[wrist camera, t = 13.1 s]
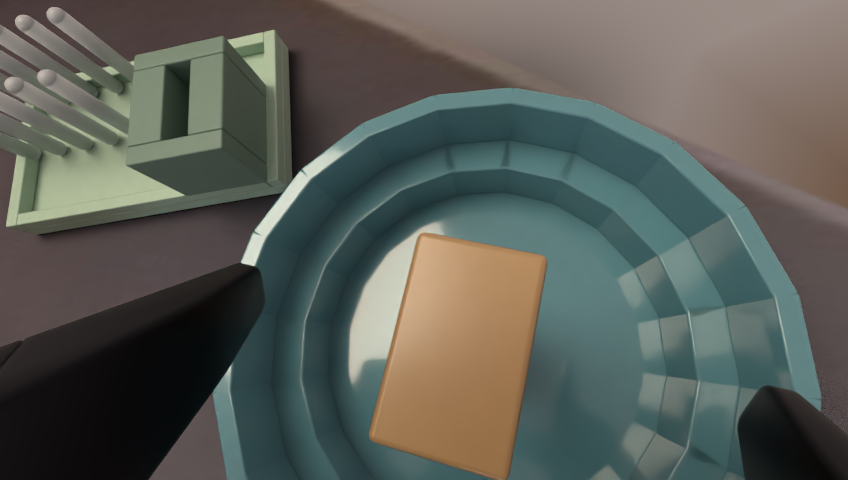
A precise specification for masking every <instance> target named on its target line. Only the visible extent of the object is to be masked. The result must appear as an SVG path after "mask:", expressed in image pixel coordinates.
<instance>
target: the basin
mask: <svg viewBox="0 0 848 480" xmlns="http://www.w3.org/2000/svg"><path fill="white" fill-rule="evenodd" d="M744 206H745V205H744V203H742V202H741V201H740V200H739V199H738V198H737V197H736V196H735V195H734V194H733V193H731V192H730V191H729V190H728V189H727V188H726V187H725V186H724V185H723V184H722V183H721V182H719V181H718V180H717V179H716V178H715V177H714V176H713V175H712V174H711V173H710V172H708V171H707V170H706V169H705V168H704V167H703V166H702V165H701V164H700V163H699V162H698V161H696V160H695V159H694V158H693V157H692V156H691V155H690V154H689V153H688V152H687V151H685V150H684V149H683V148H682V147H681V146H680V145H679V144H678V143H676V142H675V143H674V141H673V140H672V139H670V138H668V137H666V136H663V135H661V134H659V133H657V132H655V131H653V130H651V129H649V128H647V127H645V126H643V125H641V124H639V123H637V122H635V121H633V120H631V119H629V118H627V117H625V116H623V115H621V114H619V113H616V112H614V111H612V110H610V109H608V108H606V107H604V106H602V105H600V104H598V103H594V102H592V101H586V100H580V99H575V98H569V97H564V96H558V95H552V94H547V93H541V92H536V91H530V90H525V89H519V88H514V89H513V88H501V89H491V90H481V91H471V92H460V93H450V94H440V95H435V96H430V97H428V98H425V99H422V100H420V101H417V102H415V103H412V104H410V105H407V106H405V107H402V108H399V109H397V110H394V111H392V112H389V113H387V114H384V115H381V116H379V117H376V118H374V119H371V120H369V121H366V122H364V123H363V124H361V125H359V126H358V127H357V128H355V129H354V130H353V131H351V132H350V133H349V134H347V135H346V136H345V137H343V138H342V139H341V140H339V141H338V142H337V143H335V144H334V145H333V146H331V147H330V148H329V149H327V150H326V151H325V152H323V153H322V154H321V155H319V156H318V157H317V158H315V159H314V160H313V161H311V162H310V163H309V164H307V165H306V166H305V167H303V168H302V170H300V171H299V172H298V174H297V175H296V176H295V177H294V179H293V180H292V181H291V183H290V184H289V185H288V187H287V188H286V189H285V190H284V192H283V193H282V194H281V196H280V197H279V198H278V200H277V201H276V202H275V204H274V205H273V206H272V207H271V209H270V210H269V211H268V213H267V214H266V215H265V217H264V218H263V219H262V220H261V222H260V223H259V224H258V226H257V227H256V228H255V230H254V232H253V233H252V235H251V238H250V240H249V242H248V245H247V247H246V250H245V252H244V255H243V257H242V260H241V262H240V263H243V264H247V265H252V266H255V267H257V268H259V270H260V271H261V275H262V280H263V286H264V291H265V297H266V303H265V307H264V310H263V312H262V313H261V315H260V317H259V318H258V320H257V322H256V324H255V325H254V327H253V329H252V330H251V332H250V334H249V335H248V337H247V339H246V341H245V342H244V344H243V346H242V347H241V349H240V351H239V352H238V354H237V356H236V358H235V359H234V361H233V363H232V364H231V366H230V367H229V369H228V371H227V372H226V374H225V375H224V377H223V378H222V379H221V381H220V382H219V384H218V385H217V387H216V388H215V389H214V391H213V392H214V394H213V399H214V405H215V411H216V417H217V423H218V429H219V435H220V441H221V447H222V453H223V459H224V464H225V470H226V476H227V480H493V479H490V478H486V477H483V476H480V475H477V474H473V473H470V472H467V471H464V470H461V469H457V468H454V467H451V466H448V465H444V464H441V463H438V462H435V461H431V460H428V459H425V458H422V457H419V456H415V455H412V454H409V453H406V452H402V451H399V450H396V449H393V448H389V447H386V446H383V445H380V444H377V443H374V442H373V441H372V440H370V438H369V430H370V426H371V422H372V418H373V414H374V410H375V406H376V402H377V398H378V394H379V390H380V386H381V382H382V378H383V374H384V370H385V366H386V362H387V358H388V354H389V350H390V345H391V341H392V337H393V333H394V329H395V325H396V321H397V317H398V313H399V309H400V305H401V301H402V297H403V293H404V289H405V285H406V281H407V277H408V273H409V269H410V265H411V261H412V257H413V253H414V249H415V245H416V241H417V238H418V236H419V235H420V233H425V232H428V233H433V234H438V235H443V236H448V237H453V238H458V239H464V240H469V241H474V242H479V243H484V244H489V245H495V246H500V247H505V248H510V249H515V250H520V251H525V252H531V253H536V254H541V255H543V256H544V257H546V258H547V263H548V265H547V271H546V276H545V282H544V287H543V293H542V298H541V304H540V309H539V315H538V320H537V326H536V332H535V337H534V343H533V348H532V354H531V359H530V365H529V370H528V376H527V381H526V387H525V392H524V398H523V403H522V409H521V414H520V420H519V425H518V431H517V436H516V442H515V447H514V453H513V458H512V464H511V470H510V475H509V476H508V478H507V479H506V480H745V477H744V471H743V464H742V458H741V451H740V445H739V438H738V431H737V425H738V420H739V417H740V415H741V414H742V412H743V411H744V409H745V408H746V407H747V405H748V404H749V402H750V401H751V399H752V398H753V397H754V395H755V394H756V392H757V391H758V390H759V389H760V388H761V387H763V386H765V385H771V386H775V387H780V388H784V389H788V390H792V391H795V392H797V393H799V394H800V395H801V396H802V397H804V398H805V399H806V400H807V401H808V402H810V403H811V404H812V405H813V406H814V407H815V408H817V409H818V410H819V411H820V412H821V404H822V402H821V400H820V399H822V396H821V391H820V387H819V382H818V378H817V373H816V369H815V364H814V360H813V356H812V351H811V347H810V342H809V338H808V333H807V329H806V324H805V320H804V315H803V311H802V306H801V302H800V298H799V295H798V294H797V291H796V289H795V287H794V286H793V284H792V282H791V280H790V279H789V277H788V275H787V274H786V272H785V270H784V269H783V267H782V265H781V264H780V262H779V260H778V259H777V257H776V255H775V253H774V252H773V250H772V248H771V247H770V245H769V243H768V242H767V240H766V238H765V237H764V235H763V233H762V232H761V230H760V228H759V227H758V225H757V223H756V221H755V220H754V218H753V216H752V215H751V213H750V211H749V210H748V208H747V207H744Z"/></svg>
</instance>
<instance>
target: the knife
mask: <svg viewBox="0 0 848 480" xmlns="http://www.w3.org/2000/svg"><path fill="white" fill-rule="evenodd" d="M547 265H548V263H547V258H546V257H544V256H543V255H541V254H536V253H531V252H525V251H520V250H515V249H510V248H505V247H500V246H495V245H489V244H484V243H479V242H474V241H469V240H464V239H458V238H453V237H448V236H443V235H438V234H433V233H428V232H425V233H420V235H419V236H418V238H417V241H416V245H415V249H414V253H413V257H412V261H411V265H410V269H409V273H408V277H407V281H406V285H405V289H404V293H403V297H402V301H401V305H400V309H399V313H398V317H397V321H396V325H395V329H394V333H393V337H392V341H391V345H390V350H389V354H388V358H387V362H386V366H385V370H384V374H383V378H382V382H381V386H380V390H379V394H378V398H377V402H376V406H375V410H374V414H373V418H372V422H371V426H370V430H369V438H370V440H372V441H373V442H374V443H377V444H380V445H383V446H386V447H389V448H393V449H396V450H399V451H402V452H406V453H409V454H412V455H415V456H419V457H422V458H425V459H428V460H431V461H435V462H438V463H441V464H444V465H448V466H451V467H454V468H457V469H461V470H464V471H467V472H470V473H473V474H477V475H480V476H483V477H486V478H490V479H493V480H506V479H507V478H508V476H509V475H510V470H511V464H512V458H513V453H514V447H515V442H516V436H517V431H518V425H519V420H520V414H521V409H522V403H523V398H524V392H525V387H526V381H527V376H528V370H529V365H530V359H531V354H532V348H533V343H534V337H535V332H536V326H537V320H538V315H539V309H540V304H541V298H542V293H543V287H544V282H545V276H546V271H547Z"/></svg>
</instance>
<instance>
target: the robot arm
mask: <svg viewBox="0 0 848 480" xmlns="http://www.w3.org/2000/svg"><path fill="white" fill-rule="evenodd" d="M265 303H266V297H265V291H264V286H263V280H262V275H261V271H260V270H259V268H257V267H255V266H252V265H247V264H243V263H238V264H234V265H231V266H229V267H226V268H223V269H220V270H217V271H215V272H212V273H209V274H206V275H203V276H200V277H198V278H195V279H192V280H189V281H186V282H184V283H181V284H178V285H175V286H172V287H169V288H167V289H164V290H161V291H158V292H155V293H153V294H150V295H147V296H144V297H141V298H138V299H136V300H133V301H130V302H127V303H124V304H122V305H119V306H116V307H113V308H110V309H107V310H105V311H102V312H99V313H96V314H93V315H91V316H88V317H85V318H82V319H79V320H76V321H74V322H71V323H68V324H65V325H62V326H59V327H57V328H54V329H51V330H48V331H45V332H43V333H40V334H37V335H34V336H31V337H28V338H26V339H25V340H24V341H17V342H14V343H11V344H8V345H6V346H3V347H0V480H148V479H149V478H150V477H151V475H152V474H153V473H154V471H155V470H156V469H157V467H158V466H159V464H160V463H161V462H162V460H163V459H164V458H165V456H166V455H167V453H168V452H169V451H170V449H171V448H172V447H173V445H174V444H175V443H176V441H177V440H178V438H179V437H180V436H181V434H182V433H183V432H184V430H185V429H186V428H187V426H188V425H189V423H190V422H191V421H192V419H193V418H194V417H195V415H196V414H197V412H198V411H199V410H200V408H201V407H202V406H203V404H204V403H205V402H206V400H207V399H208V397H209V396H210V395H211V393H212V392H213V391H214V389H215V388H216V387H217V385H218V384H219V382H220V381H221V379H222V378H223V377H224V375H225V374H226V372H227V371H228V369H229V367H230V366H231V364H232V363H233V361H234V359H235V358H236V356H237V354H238V352H239V351H240V349H241V347H242V346H243V344H244V342H245V341H246V339H247V337H248V335H249V334H250V332H251V330H252V329H253V327H254V325H255V324H256V322H257V320H258V318H259V317H260V315H261V313H262V312H263V310H264V307H265ZM737 431H738V438H739V445H740V451H741V458H742V464H743V471H744V477H745V480H848V435H847V434H846V433H845V432H844V431H842V430H841V429H840V428H839V427H838V426H837V425H835V424H834V423H833V422H832V421H831V420H830V419H828V418H827V417H826V416H825V415H824V414H822V413H821V412H820V411H819V410H818V409H817V408H815V407H814V406H813V405H812V404H811V403H810V402H808V401H807V400H806V399H805V398H804V397H802V396H801V395H800V394H799V393H797V392H795V391H792V390H788V389H784V388H780V387H775V386H771V385H765V386H763V387H761V388H760V389H759V390H758V391H757V392H756V394H755V395H754V397H753V398H752V399H751V401H750V402H749V404H748V405H747V407H746V408H745V409H744V411H743V412H742V414H741V415H740V417H739V420H738V425H737Z"/></svg>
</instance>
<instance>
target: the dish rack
mask: <svg viewBox="0 0 848 480" xmlns="http://www.w3.org/2000/svg"><path fill="white" fill-rule="evenodd" d="M47 17H48V19H49V21H50V22H51V23H53V24H54V25H55V26H57V27H58V28H60V29H61V30H62V31H64V32H65V33H66V34H68V35H69V36H70V37H72V38H73V39H74V40H76V41H77V42H78V43H80V44H81V45H83V46H84V47H85V48H87V49H88V50H89V51H91V52H92V53H93V54H95V55H96V56H97V57H99V58H100V59H102V60H103V61H104V62H106V63H107V64H108V65H110V66H109V67H104V68H101V67H100V66H98V65H97V64H96V63H94V62H93V61H91V60H90V59H89V58H87V57H86V56H84V55H83V54H82V53H80V52H79V51H77V50H76V49H75V48H73V47H72V46H71V45H69V44H68V43H66V42H65V41H64V40H62V39H61V38H59V37H58V36H57V35H55V34H54V33H52V32H51V31H50V30H48V29H47V28H45V27H44V26H43V25H41V24H40V23H38V22H37V21H36V20H34V19H33V18H31V17H30V16H27V15H19V16H18V17H17V18H16V19H15V24H16V26H17V27H18V29H20V30H21V31H22V32H24V33H25V34H27V35H28V36H30V37H31V38H33V39H34V40H36V41H37V42H39V43H40V44H42V45H43V46H45V47H46V48H47V49H49V50H50V51H52V52H53V53H55V54H56V55H58V56H59V57H61V58H62V59H64V60H65V61H67V62H68V63H70V64H71V65H73V66H74V67H76V68H77V69H79V70H80V71H82V73H77V74H75V73H73V72H72V71H70V70H69V69H67V68H66V67H64V66H62V65H61V64H59V63H58V62H56V61H55V60H53V59H52V58H50V57H49V56H47V55H46V54H44V53H43V52H41V51H40V50H38V49H37V48H35V47H34V46H32V45H31V44H29V43H28V42H26V41H24V40H23V39H21V38H20V37H18V36H17V35H15V34H14V33H12V32H11V31H9V30H8V29H6V28H5V27H3V26H2V25H0V44H1V45H2V46H4V47H6V48H7V49H9V50H11V51H12V52H14V53H15V54H17V55H19V56H20V57H22V58H23V59H25V60H27V61H28V62H30V63H32V64H33V65H35V66H36V67H38V68H40V69H41V71H40V72H39V73H37V72H36V71H34V70H32V69H31V68H29V67H27V66H26V65H24V64H22V63H21V62H19V61H17V60H16V59H14V58H12V57H11V56H9V55H8V54H6V53H4V52H3V51H1V50H0V68H1V69H3V70H5V71H6V72H8V73H10V74H12V75H13V76H15V77H8V76H6V75H4V74H2V73H0V89H1V90H3V91H5V92H7V93H9V94H11V95H13V96H15V97H17V98H18V99H20V100H22V101H24V102H25V104H23V103H21V102H19V101H17V100H16V99H14V98H12V97H10V96H8V95H6V94H4V93H2V92H0V111H2V112H4V113H7V114H9V115H11V116H13V117H15V118H17V119H19V120H21V121H22V123H20V122H18V121H16V120H14V119H12V118H10V117H8V116H6V115H3V114H1V113H0V130H1V131H3V132H5V133H7V134H10V135H12V136H14V137H16V138H19V140H18V139H16V138H13V137H11V136H9V135H7V134H4V133H2V132H0V148H2V149H4V150H7V151H9V152H12V153H14V154H17V158H16V165H15V171H14V178H13V184H12V190H11V197H10V203H9V210H8V216H7V222H6V227H8V228H12V229H16V230H21V231H24V232H28V233H32V234H36V235H38V234H44V233H50V232H56V231H61V230H67V229H73V228H79V227H85V226H91V225H97V224H102V223H108V222H114V221H120V220H126V219H132V218H138V217H144V216H149V215H155V214H161V213H167V212H173V211H179V210H185V209H190V208H196V207H202V206H208V205H214V204H220V203H226V202H232V201H237V200H243V199H249V198H255V197H261V196H267V195H273V194H278V193H283V192H284V190H285V189H286V188H287V187H288V185H289V184H290V183H291V181H292V154H291V121H290V88H289V55H288V48H287V47H286V46H285V44H284V43H283V41H282V40H281V38H280V37H279V35H278V34H277V32H276V31H275V30H271V31H266V32H264V33H263V32H262V33H257V34H253V35H248V36H244V37H239V38H235V39H230V40H227V39H226V38H225V37H224V36H220V37H216V38H211V39H207V40H202V41H198V42H193V43H189V44H184V45H180V46H176V47H171V48H167V49H162V50H158V51H153V52H149V53H144V54H140V55H136V56H135V59H134V61H131V62H128V61H127V60H126V59H125V58H123V57H122V56H121V55H120V54H118V53H117V52H116V51H114V50H113V49H112V48H111V47H109V46H108V45H107V44H106V43H104V42H103V41H102V40H100V39H99V38H98V37H97V36H95V35H94V34H93V33H92V32H90V31H89V30H88V29H86V28H85V27H84V26H83V25H81V24H80V23H79V22H78V21H76V20H75V19H74V18H73V17H71V16H70V15H69V14H67V13H66V12H65V11H64V10H62V9H60V8H57V7H52V8H49V9H48V11H47Z"/></svg>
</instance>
